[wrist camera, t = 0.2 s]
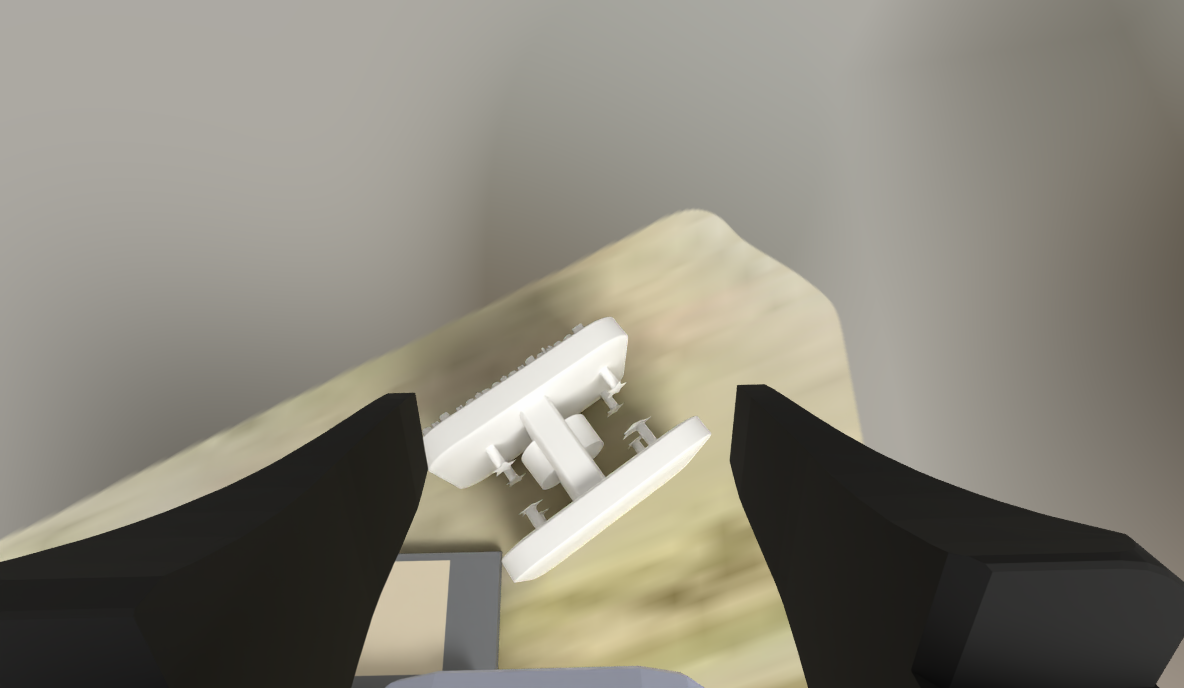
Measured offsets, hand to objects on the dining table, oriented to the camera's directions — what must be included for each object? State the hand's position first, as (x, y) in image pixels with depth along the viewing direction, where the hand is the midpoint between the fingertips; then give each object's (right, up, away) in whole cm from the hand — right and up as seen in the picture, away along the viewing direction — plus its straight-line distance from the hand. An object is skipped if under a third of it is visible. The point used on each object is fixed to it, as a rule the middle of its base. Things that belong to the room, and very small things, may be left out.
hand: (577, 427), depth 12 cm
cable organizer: (-1, -8, +30) cm, 31 cm away
